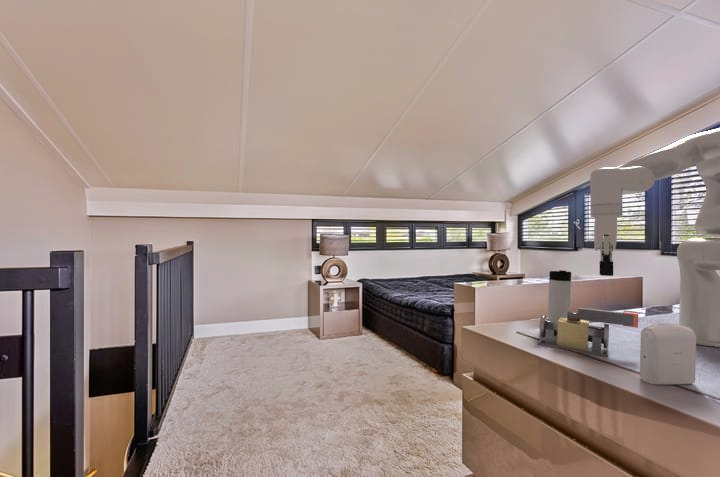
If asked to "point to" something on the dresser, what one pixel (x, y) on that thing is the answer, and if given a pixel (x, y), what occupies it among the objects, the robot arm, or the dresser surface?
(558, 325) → the grey vise
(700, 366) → the dresser surface
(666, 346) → the photo printer
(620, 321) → the lever
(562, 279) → the travel mug
